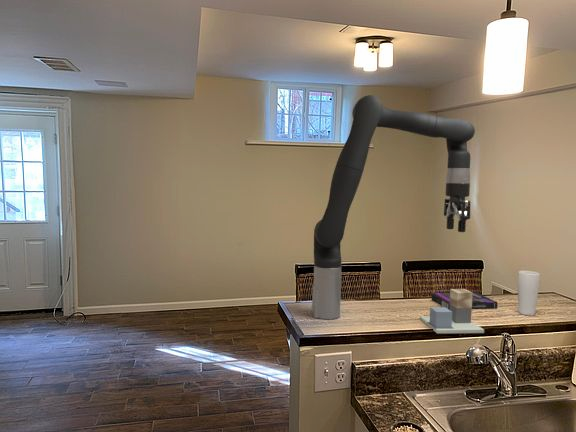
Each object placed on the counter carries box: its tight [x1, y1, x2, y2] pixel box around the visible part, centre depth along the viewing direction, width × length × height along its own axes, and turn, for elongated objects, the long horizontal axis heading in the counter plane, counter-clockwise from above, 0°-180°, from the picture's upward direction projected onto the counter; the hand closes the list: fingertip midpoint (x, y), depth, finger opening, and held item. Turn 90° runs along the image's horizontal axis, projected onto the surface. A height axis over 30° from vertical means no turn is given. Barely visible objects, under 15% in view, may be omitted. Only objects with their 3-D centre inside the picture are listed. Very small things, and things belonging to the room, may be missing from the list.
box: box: [431, 291, 499, 310], centre depth 170 cm, size 14×4×20 cm
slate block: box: [429, 306, 452, 328], centre depth 141 cm, size 5×5×5 cm
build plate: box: [419, 304, 485, 334], centre depth 144 cm, size 15×14×6 cm
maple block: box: [449, 288, 473, 308], centre depth 146 cm, size 5×5×5 cm
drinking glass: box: [517, 270, 541, 317], centre depth 158 cm, size 7×7×15 cm
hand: (455, 230), depth 150 cm, fingers open, 8 cm apart
